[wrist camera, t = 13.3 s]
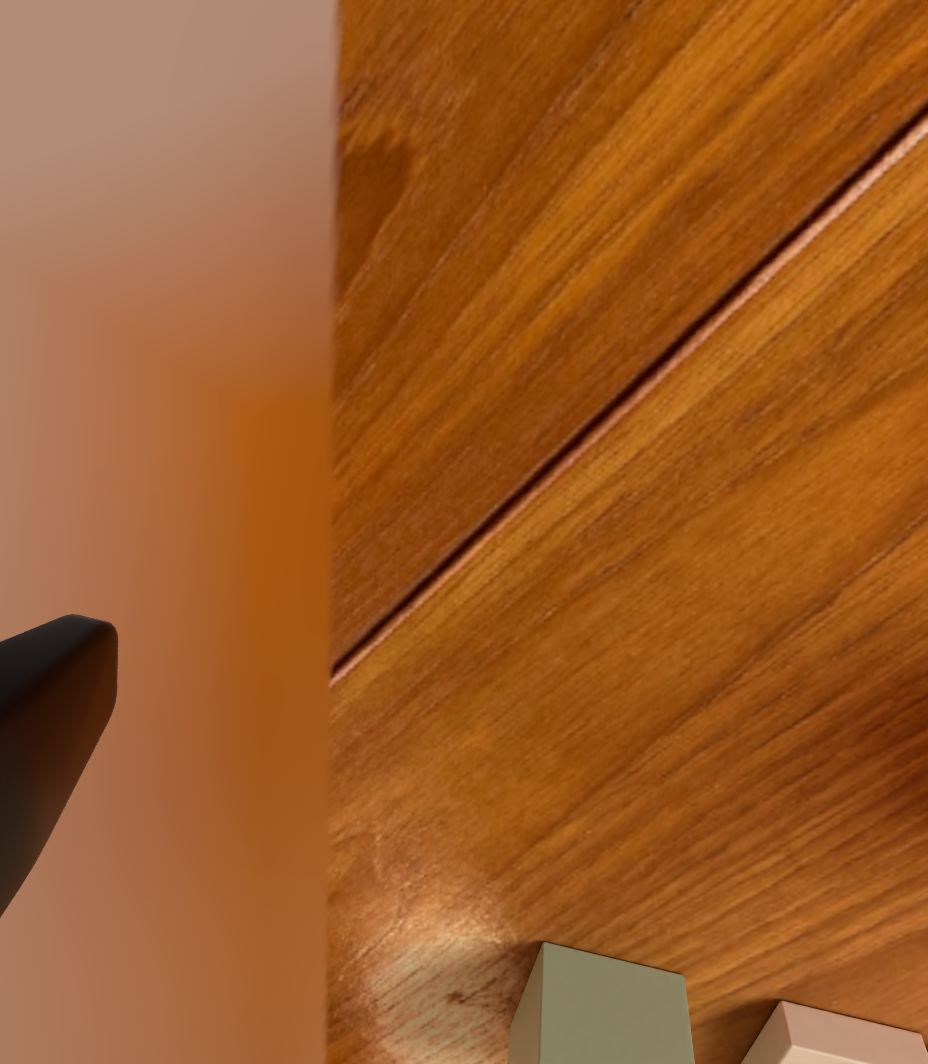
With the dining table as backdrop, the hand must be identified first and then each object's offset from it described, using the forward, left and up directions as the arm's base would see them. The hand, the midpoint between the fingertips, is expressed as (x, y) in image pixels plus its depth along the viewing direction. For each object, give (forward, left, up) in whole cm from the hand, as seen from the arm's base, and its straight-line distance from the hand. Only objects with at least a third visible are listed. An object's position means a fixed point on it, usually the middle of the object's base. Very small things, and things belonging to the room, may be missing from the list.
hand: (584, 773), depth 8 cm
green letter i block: (+6, -20, -12) cm, 24 cm away
